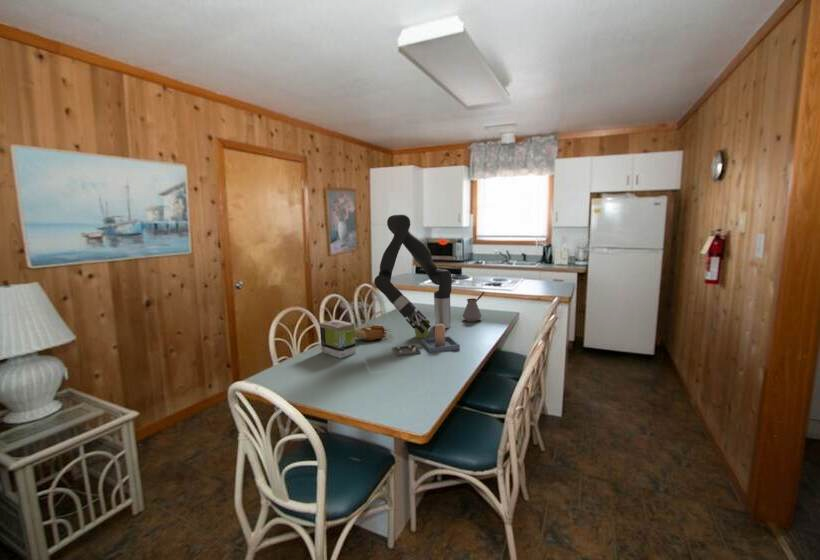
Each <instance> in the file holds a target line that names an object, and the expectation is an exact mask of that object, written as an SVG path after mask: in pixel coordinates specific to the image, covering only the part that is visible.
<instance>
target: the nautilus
mask: <svg viewBox="0 0 820 560" xmlns="http://www.w3.org/2000/svg"><path fill="white" fill-rule="evenodd" d="M388 331H389V332H388ZM390 332H391V333H394V332H392V331H390V328H387V329H386V327H385V326H383V325H381V324H375V323H372V324H371V323H369V324H364V325H362V326H359V327H357V329H355V339H356V338H357V339H360V340H363V341H366V342H369V341H375V340H380V339H381V340H385V341H387V340H390V339H393V340H394V339H395V338H393V335H392V334H390ZM387 337H388V338H387Z"/></svg>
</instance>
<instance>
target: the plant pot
mask: <svg viewBox="0 0 820 560" xmlns="http://www.w3.org/2000/svg"><path fill="white" fill-rule="evenodd" d="M426 321H427V323H428V324H429V325H430V323H431V321H430V320H429V319H426ZM419 324H420V326H421V327H422V328H423V329H424V330H425V332H424V333H423V334H421V332H420V331H419V330H418V329H416V328H413V329H414V334H415V338H417V339H427V338H428V334H429V329H427V328H426V327H425V326H424V325H423V324H422V323H421V322H419Z"/></svg>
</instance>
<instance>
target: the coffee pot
mask: <svg viewBox="0 0 820 560" xmlns="http://www.w3.org/2000/svg"><path fill="white" fill-rule="evenodd" d="M486 294H487V293H486V292H485V291H483V292H482V293H481V294H480V295H478V297H477V298H475V297H473V298H466V301H467V304H466V305H465V309H464V311H463V313H462V318H463V319H464V320H465V321H466V322H470V323H472V322H473V323H475V322H478V321H479V320H481V318H482V316H483V315H482V312H481V311H480V308H479V306H478V304H477V302H479V300H480V299H481V298H482V296H485V295H486Z"/></svg>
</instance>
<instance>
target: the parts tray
mask: <svg viewBox="0 0 820 560" xmlns="http://www.w3.org/2000/svg"><path fill="white" fill-rule="evenodd" d="M392 350H393V352H394V353H395V355H396V356H397V357H404V356H411V355H412V356H413V355H421V351H420V349H419V348H418V347H417V346H416V345H415V344H411V345H410V344H409V345H401V346H394V347H392Z"/></svg>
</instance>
